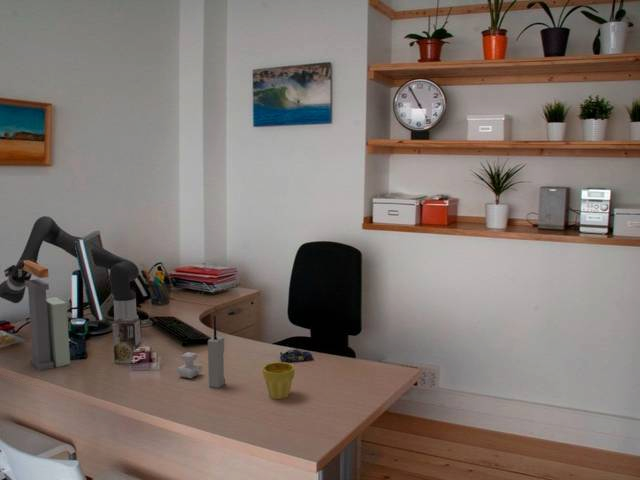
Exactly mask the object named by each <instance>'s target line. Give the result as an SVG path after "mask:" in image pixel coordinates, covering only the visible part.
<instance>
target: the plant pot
mask: <svg viewBox="0 0 640 480" xmlns="http://www.w3.org/2000/svg"><path fill="white" fill-rule="evenodd" d="M262 377H263V379H264V380H265V384H266V387H267V388H266V389H267V393H268V397H270V398H272V399H274V400H283V399H287V398H288V397H289V396H290V395H289V394H290V392H291V387H292V382H293V379H294V378H295V365H293V364H292V363H286V362H282V361H276V362H275V361H274V362H270V363H267V364H265V365H264V366H263V367H262Z"/></svg>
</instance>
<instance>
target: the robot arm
mask: <svg viewBox="0 0 640 480" xmlns="http://www.w3.org/2000/svg"><path fill="white" fill-rule="evenodd" d="M81 238H82V237H80V236H74V235H72V234H70V233H68V232H66V231H65V230H64V229H62V228H61V227H60V226H59V225H58V223H56V221H55V220H54V219H53V218H52V217H50V216H46V215H43V216H41V217H39V218H38V219H36V221H35V222H34V224H33V226H32V229H31V232H30V234H29V237H28V239H27V242H26V245H25V247H24V249H23V251H22V254H21V255H20V258H19V260H18V261H17V263H16V264H13V265H11V266H9V267H8V268H6V269H4V270H3V271H4V272H3V273H4V276H5V277H6V278H7V279H6V280H4V281H2V282H1V283H0V298H1V299H3V300H6V301H8V302H11V303H12V304H19V303H20V302H22V301H23V299H24V296H25V292H26V288H27V287H26V286H25V281H27V280H31V278H32V276H33V275H32V274H30V273H28V272H27V271H25V270H23V267H24V260H29V261H31V262H34V263H36V264H38V265H40V264H39V263H38V262H37V261H38V258H39V252H40V249H41V246H42V245H43V242H45V243H47V244H50V245H53V246H55V247H57V248H60V249H61V250H63V251H65V252H66V253H68V254H69V255H70V256H72V257H74V258H75V259H77V254H76V250H75V241H77V240H78V239H81ZM90 247H91V252H92V256H93V260H94V263H95V265H96V266H95V267H99V268H103V269H107V270H109V282H110V291H111V294H112V296H113V314H114V322H115V321H116V320H118V319H140V318H139V315H138V314H137V294H136V291H135V290H133V289H131V286H130V285H131V284H130V282H133V281H135V280H137V278H138V276H139V275H140V270H139V267H138V266H137V265H136V264H135V262H133V261H131V260H129V259H126V258H123V257H121V256H118V255H116V254H114V253H112V252H110V251H108V250H107V249H105V248H103V247H102V246H100V245H97V244H96V243H95V242H92V241H91V242H90ZM20 261H21V262H20Z"/></svg>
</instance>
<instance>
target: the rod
mask: <svg viewBox="0 0 640 480" xmlns="http://www.w3.org/2000/svg"><path fill="white" fill-rule="evenodd" d="M20 262H21V261H20ZM38 264H39V263H38ZM38 264H36V263H34V262H31V261H29V260H24V267H23V270H25V271H27V272H28V273H30V274H32V275H31V276H35V277H37V279H43V278H49V268H47V267H44V266H42V265H41V264H39V265H38Z"/></svg>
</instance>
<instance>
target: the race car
mask: <svg viewBox="0 0 640 480" xmlns="http://www.w3.org/2000/svg"><path fill="white" fill-rule="evenodd" d="M279 354H280V356H279V359H280V362H285V363H289V364H292V363H298V362H304V361H306V362H309V361H312V360H313V354H312V353H311V352H309V351H301V350H298V349H289V350H287V351H286V352H284V353H283V352H282V351H280V352H279ZM314 359H315V360H316V361H318V360H317V358H316V357H315V358H314Z"/></svg>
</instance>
